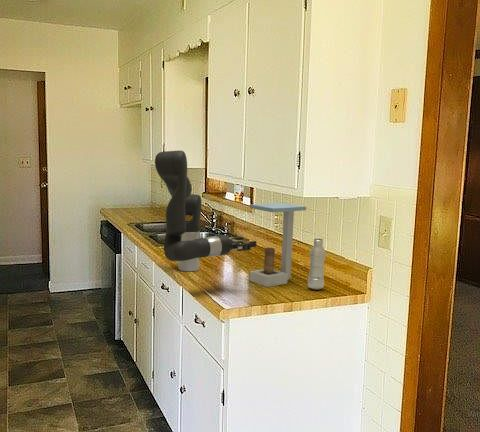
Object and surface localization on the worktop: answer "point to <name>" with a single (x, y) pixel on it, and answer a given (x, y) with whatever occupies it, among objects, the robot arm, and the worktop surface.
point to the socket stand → (287, 239)
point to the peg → (269, 261)
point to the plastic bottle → (316, 265)
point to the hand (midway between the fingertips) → (249, 241)
